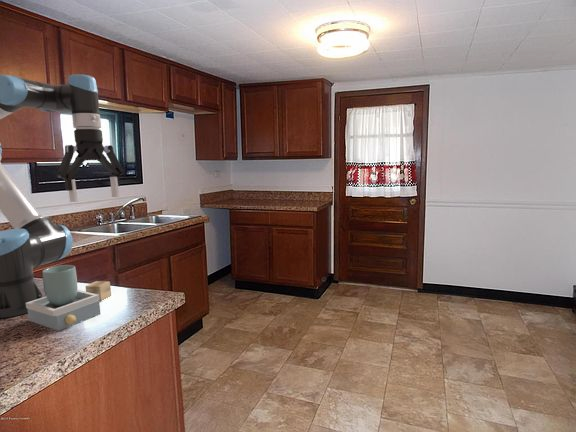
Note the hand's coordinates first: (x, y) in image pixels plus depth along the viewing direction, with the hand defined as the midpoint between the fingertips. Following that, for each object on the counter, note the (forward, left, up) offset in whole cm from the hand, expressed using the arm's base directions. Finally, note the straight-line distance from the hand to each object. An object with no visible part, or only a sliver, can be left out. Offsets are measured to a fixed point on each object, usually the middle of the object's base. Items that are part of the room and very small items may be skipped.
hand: (95, 199), depth 119 cm
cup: (+4, -16, -28) cm, 32 cm away
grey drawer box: (+4, -16, -32) cm, 36 cm away
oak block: (-1, -2, -32) cm, 32 cm away
